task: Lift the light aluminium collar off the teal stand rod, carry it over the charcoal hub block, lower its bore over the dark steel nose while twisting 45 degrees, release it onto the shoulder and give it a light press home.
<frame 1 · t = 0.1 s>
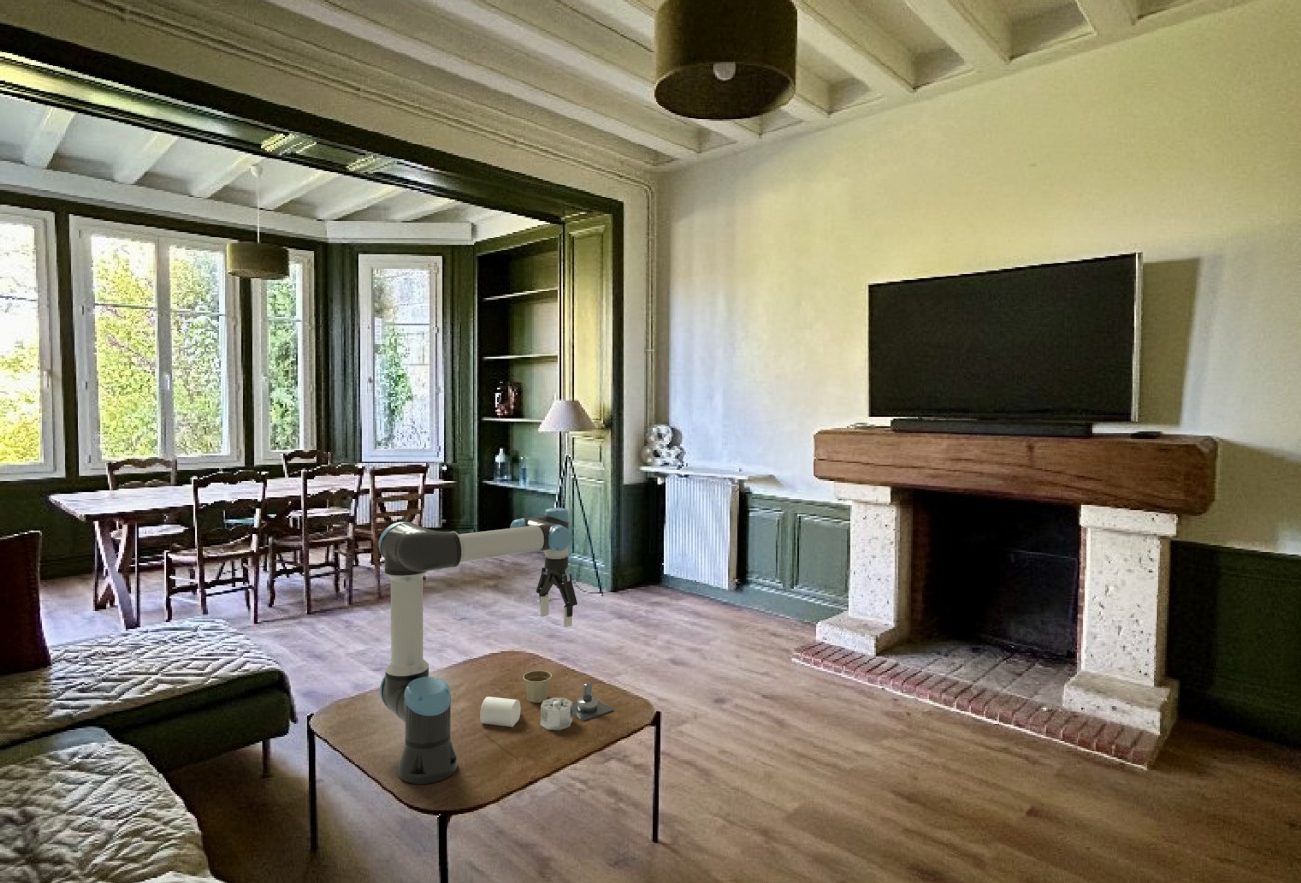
hand: (555, 621, 235), 28 cm above the table, fingers open, 13 cm apart
mug: (503, 722, 224), on the table
flower pot: (537, 702, 239), on the table
stand: (556, 726, 221), on the table
collar: (556, 723, 221), point 1 cm above the table, touching stand
hub: (587, 712, 231), on the table
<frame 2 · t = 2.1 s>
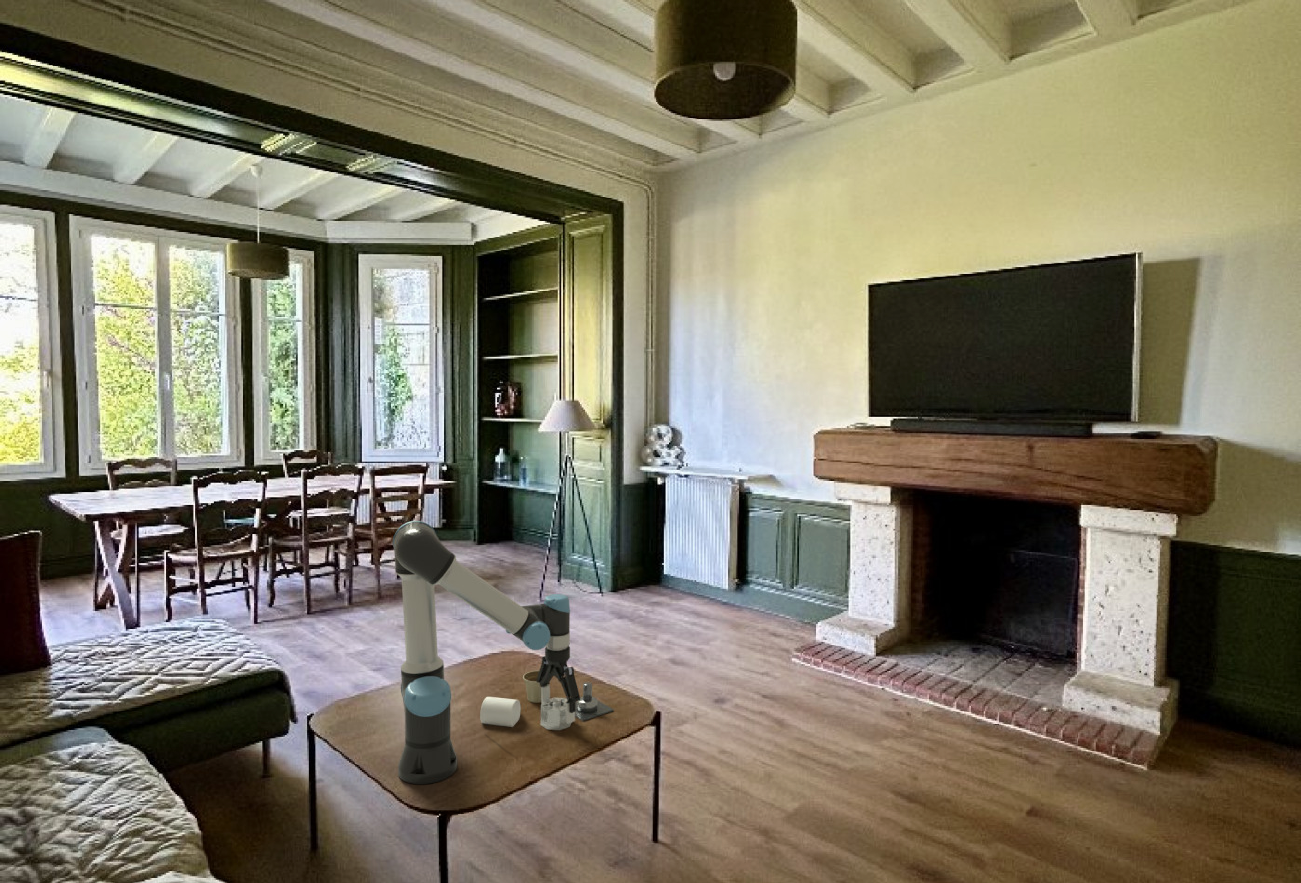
hand: (557, 714, 221), 4 cm above the table, fingers open, 13 cm apart
nothing on the table moved.
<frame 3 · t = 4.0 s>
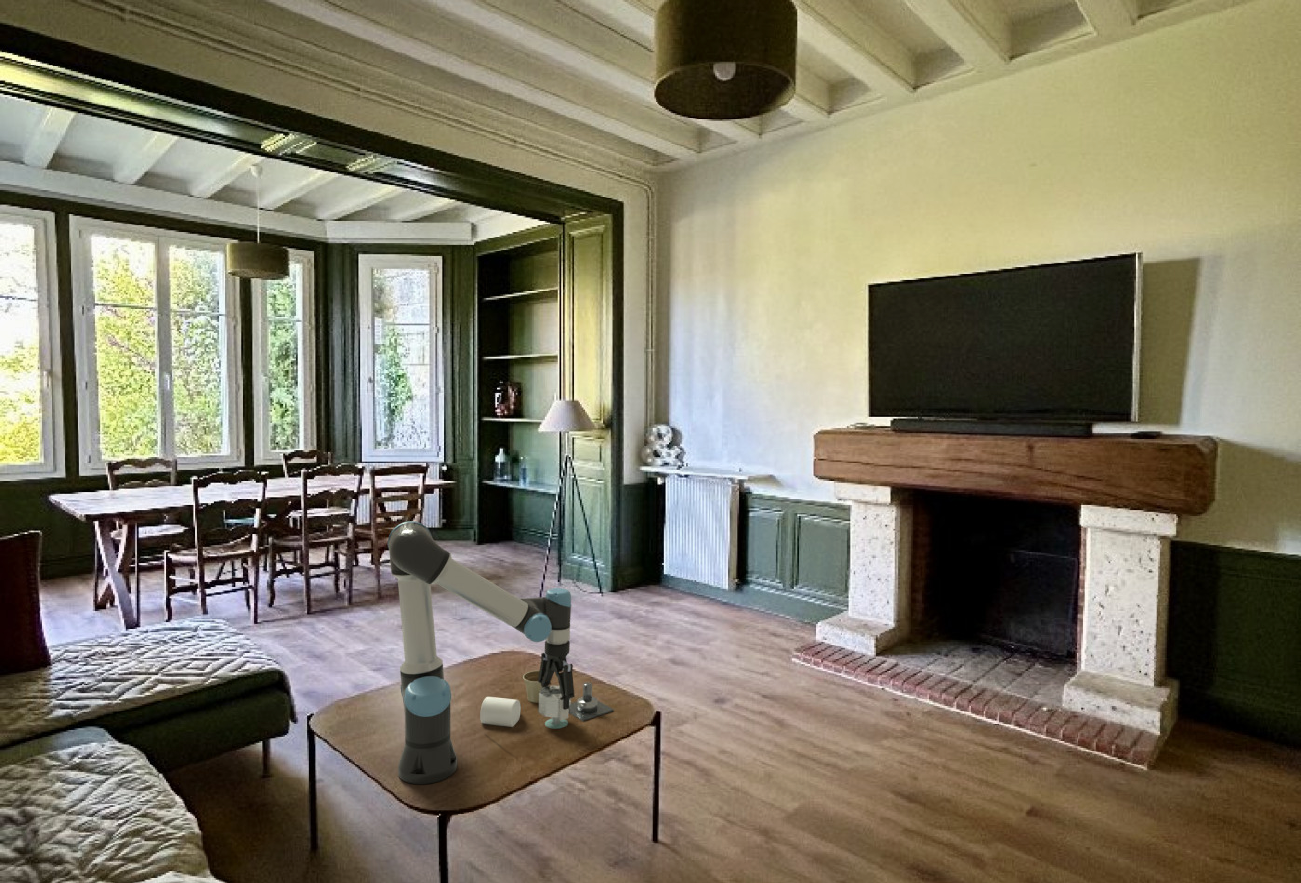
hand: (554, 713, 221), 4 cm above the table, fingers closed on collar, 9 cm apart
collar: (554, 710, 220), point 5 cm above the table, touching gripper
everything else where it was.
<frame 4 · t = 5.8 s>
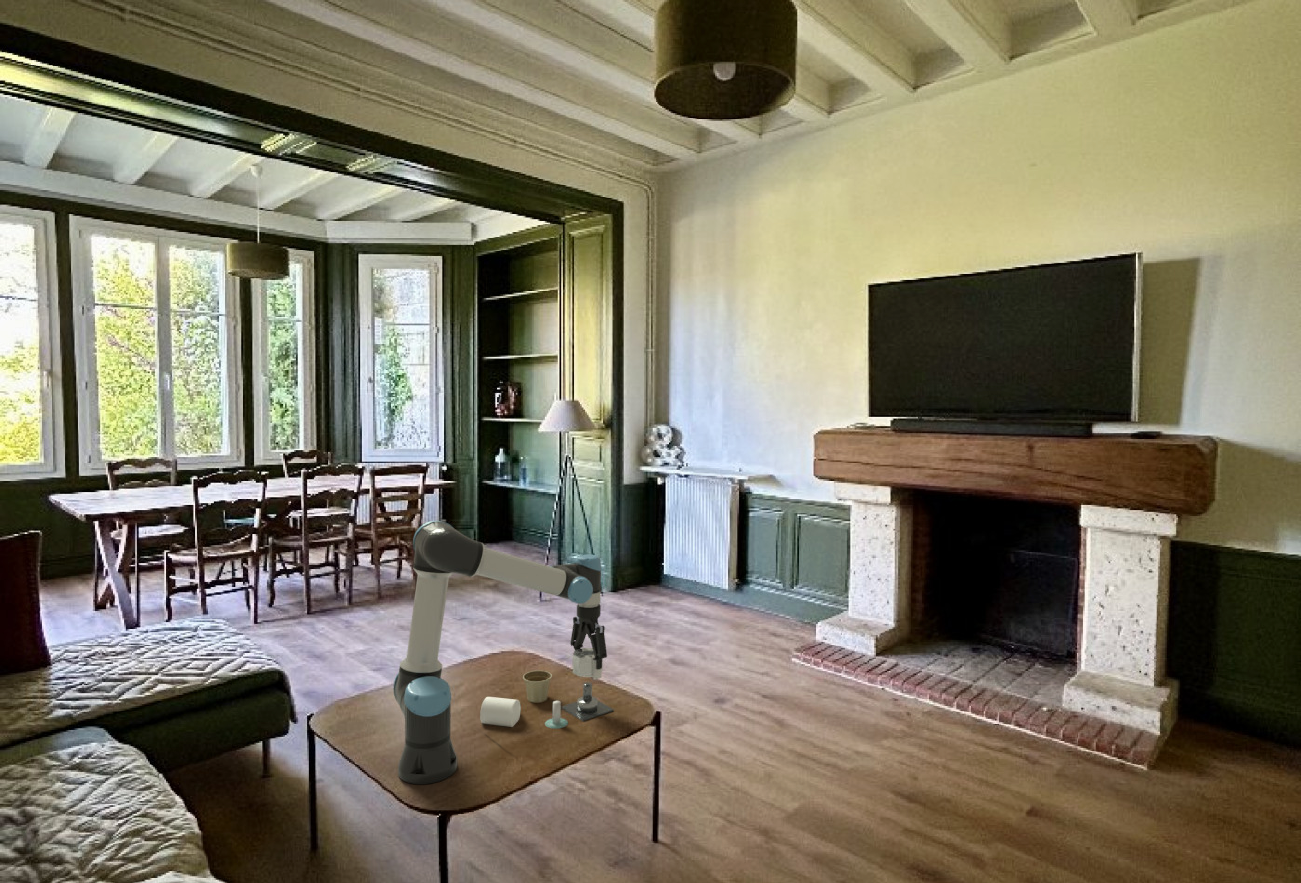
hand: (588, 673, 230), 13 cm above the table, fingers closed on collar, 9 cm apart
collar: (587, 671, 230), point 13 cm above the table, touching gripper
everything else where it was.
when the fingers open (3 cm above the table, at t = 7.8 s): collar stays where it is, resting on hub.
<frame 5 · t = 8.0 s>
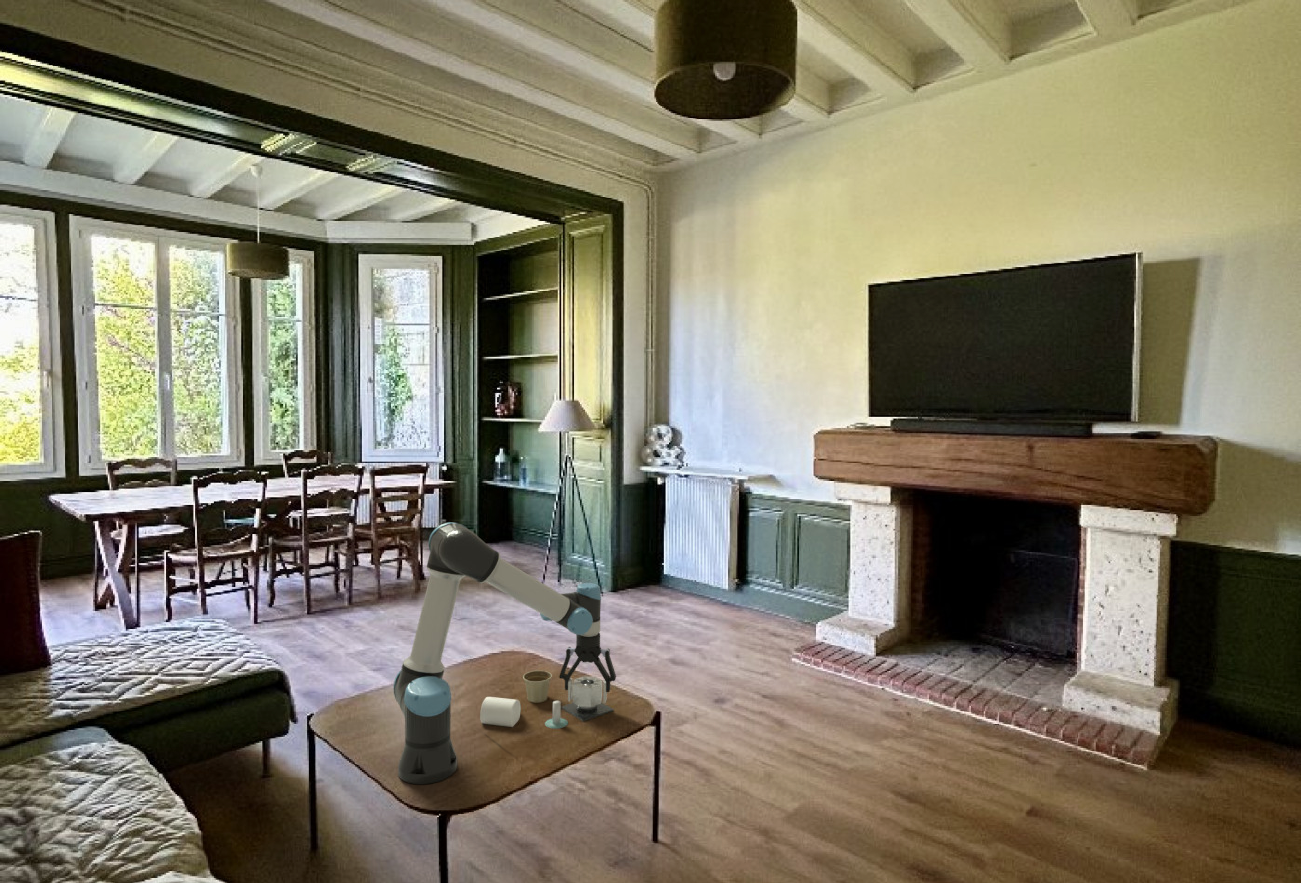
hand: (587, 700, 231), 4 cm above the table, fingers open, 11 cm apart
collar: (587, 700, 231), point 4 cm above the table, touching hub
everything else where it was.
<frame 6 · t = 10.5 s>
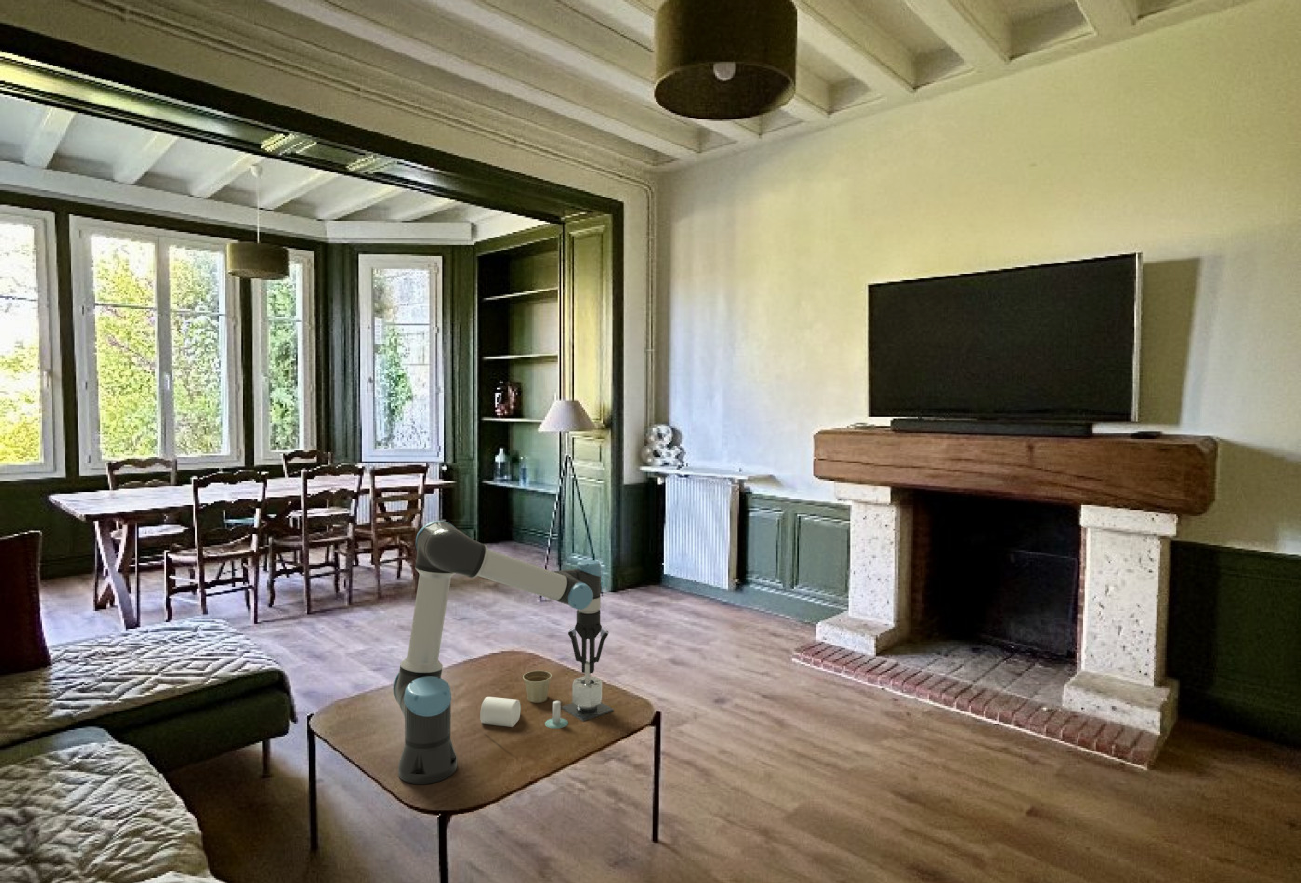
hand: (587, 682, 230), 10 cm above the table, fingers closed
nothing on the table moved.
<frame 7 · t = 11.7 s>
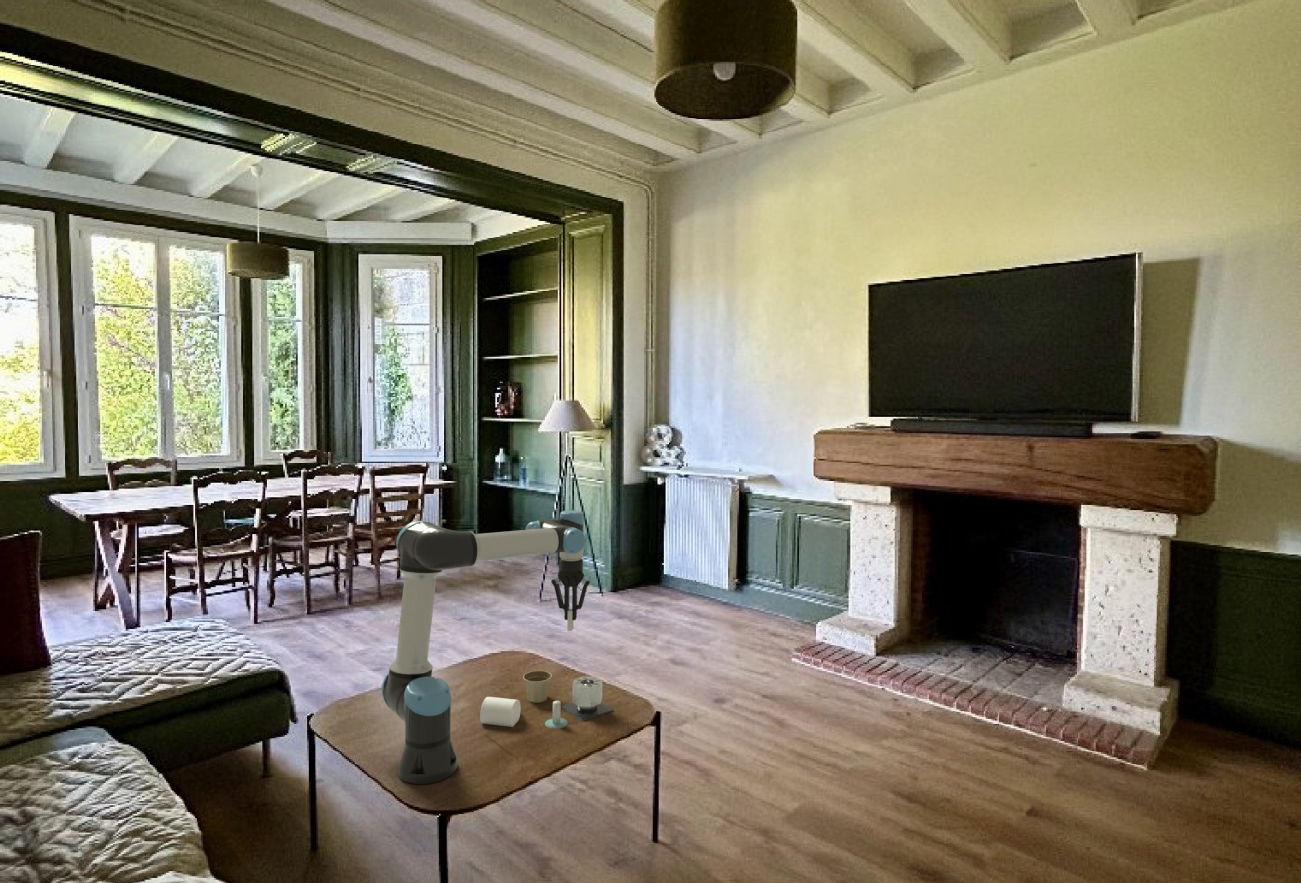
hand: (570, 629, 237), 24 cm above the table, fingers closed
nothing on the table moved.
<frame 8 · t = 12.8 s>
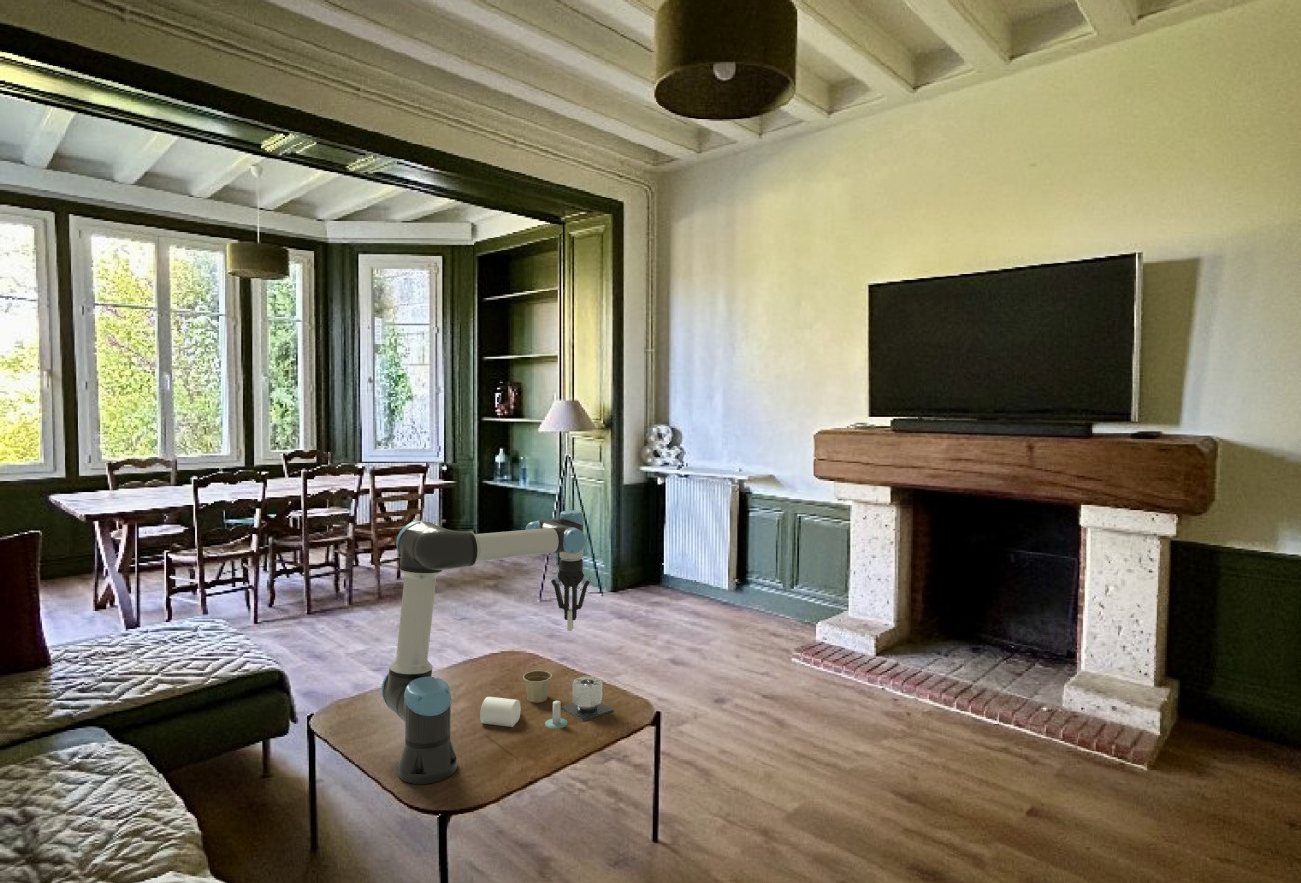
hand: (570, 629, 237), 24 cm above the table, fingers closed
nothing on the table moved.
at the end: collar 0.1 cm off-centre on the hub, point 4.0 cm above the hub's base; collar tilted 0°; the gripper is holding nothing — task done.
